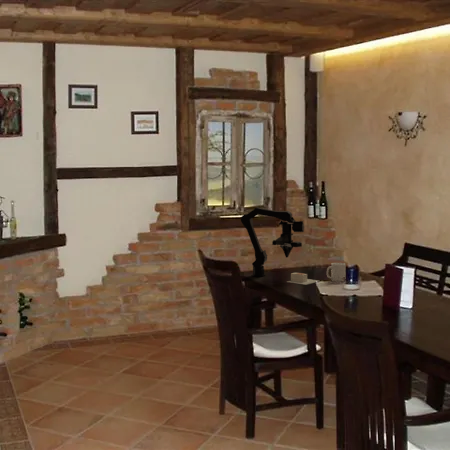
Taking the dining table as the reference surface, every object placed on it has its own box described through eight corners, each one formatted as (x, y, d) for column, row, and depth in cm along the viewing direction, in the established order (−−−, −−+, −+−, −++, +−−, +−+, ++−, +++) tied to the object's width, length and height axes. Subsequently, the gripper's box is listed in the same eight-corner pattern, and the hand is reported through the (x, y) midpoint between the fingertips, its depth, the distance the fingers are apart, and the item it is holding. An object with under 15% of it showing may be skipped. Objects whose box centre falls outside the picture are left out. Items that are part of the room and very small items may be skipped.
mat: (286, 282, 416) (286, 281, 416) (301, 278, 426) (301, 278, 426) (305, 284, 406) (305, 284, 406) (320, 281, 416) (320, 280, 416)
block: (290, 273, 419) (303, 274, 413) (295, 272, 422) (307, 273, 416) (290, 280, 420) (303, 281, 414) (295, 279, 423) (307, 280, 417)
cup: (348, 281, 416) (348, 264, 415) (330, 282, 411) (330, 265, 410) (340, 278, 423) (340, 262, 422) (323, 280, 419) (323, 263, 418)
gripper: (266, 232, 430) (266, 257, 431) (290, 234, 417) (290, 260, 418) (278, 230, 438) (278, 255, 439) (302, 232, 425) (302, 258, 427)
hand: (286, 257), depth 431 cm, fingers closed
